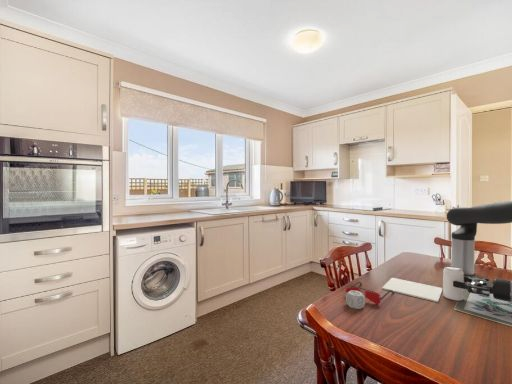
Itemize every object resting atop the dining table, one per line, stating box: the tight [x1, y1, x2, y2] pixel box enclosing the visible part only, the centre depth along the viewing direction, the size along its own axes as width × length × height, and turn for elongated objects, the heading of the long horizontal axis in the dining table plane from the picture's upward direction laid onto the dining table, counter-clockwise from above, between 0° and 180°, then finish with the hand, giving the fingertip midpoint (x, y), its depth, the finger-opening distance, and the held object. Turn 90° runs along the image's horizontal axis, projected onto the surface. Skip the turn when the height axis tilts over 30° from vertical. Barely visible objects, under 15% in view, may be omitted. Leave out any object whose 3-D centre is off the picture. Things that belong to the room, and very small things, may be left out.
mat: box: [381, 277, 443, 303], centre depth 111 cm, size 16×20×1 cm
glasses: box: [345, 281, 395, 305], centre depth 106 cm, size 14×16×5 cm
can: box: [442, 265, 465, 302], centre depth 102 cm, size 6×6×12 cm
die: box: [345, 290, 366, 310], centre depth 96 cm, size 5×5×5 cm
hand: (454, 280), depth 102 cm, fingers open, 8 cm apart
